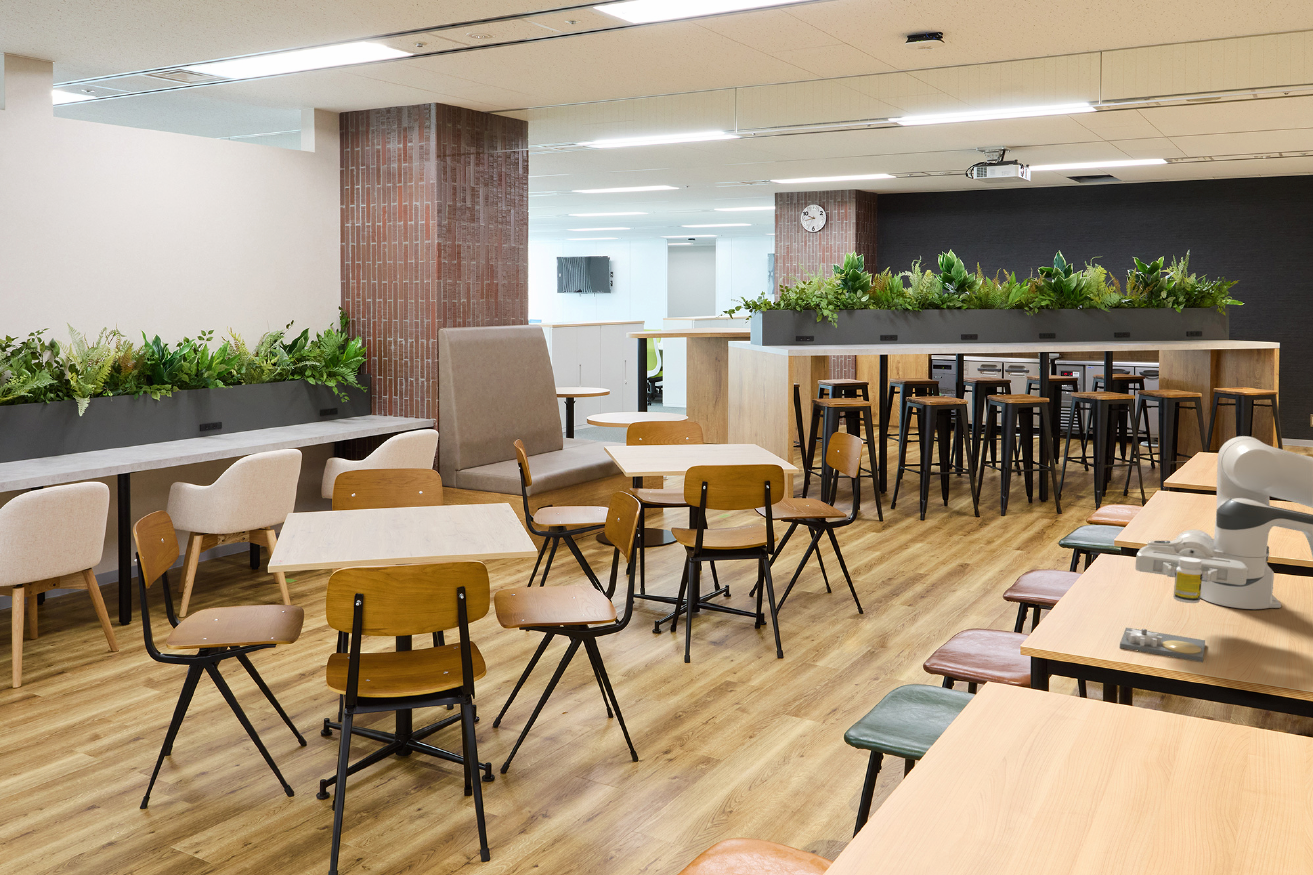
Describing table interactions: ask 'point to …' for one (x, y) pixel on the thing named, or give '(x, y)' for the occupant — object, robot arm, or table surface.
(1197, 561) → the supplement bottle
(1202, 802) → the table surface
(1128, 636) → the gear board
